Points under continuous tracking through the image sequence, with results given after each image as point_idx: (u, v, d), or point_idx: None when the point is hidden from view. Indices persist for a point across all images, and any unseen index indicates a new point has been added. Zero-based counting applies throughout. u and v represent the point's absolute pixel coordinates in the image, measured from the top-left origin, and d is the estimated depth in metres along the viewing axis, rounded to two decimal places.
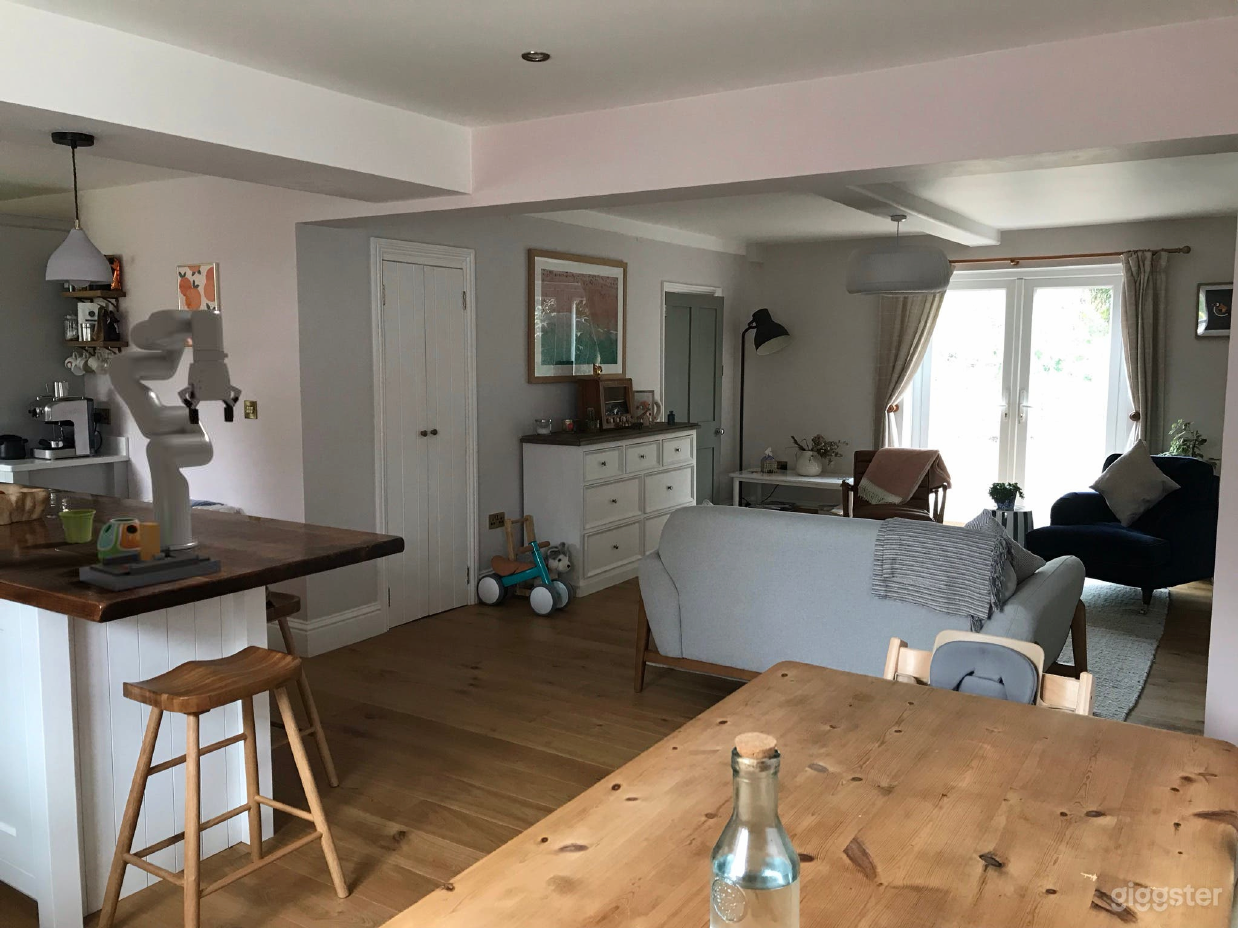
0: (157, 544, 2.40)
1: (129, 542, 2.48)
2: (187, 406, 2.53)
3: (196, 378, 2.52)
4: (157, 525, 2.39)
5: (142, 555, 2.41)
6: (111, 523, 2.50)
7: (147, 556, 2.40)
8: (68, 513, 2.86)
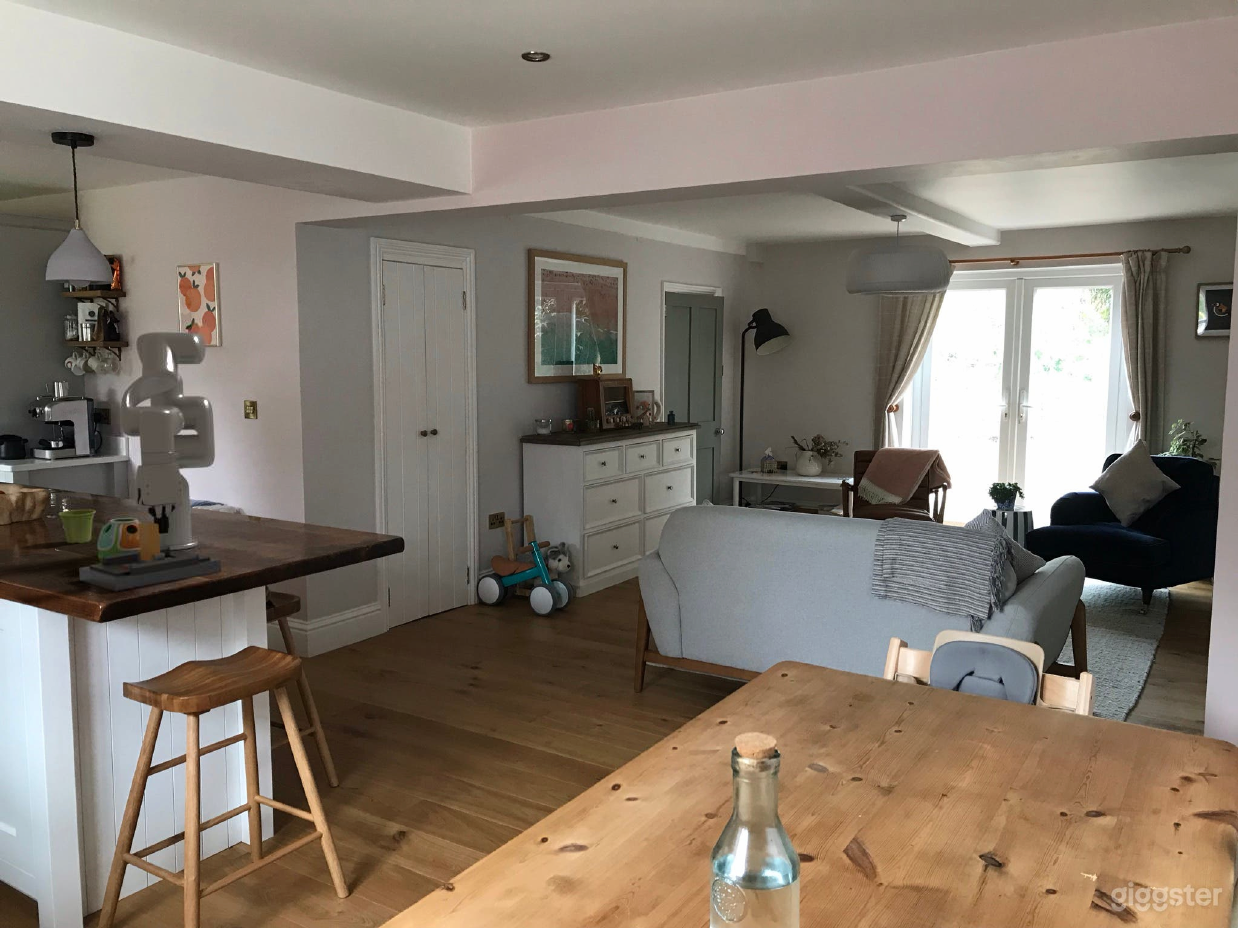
0: (157, 544, 2.40)
1: (129, 542, 2.48)
2: (152, 515, 2.41)
3: (144, 483, 2.37)
4: (156, 525, 2.39)
5: (142, 555, 2.41)
6: (111, 523, 2.50)
7: (147, 556, 2.40)
8: (68, 513, 2.86)
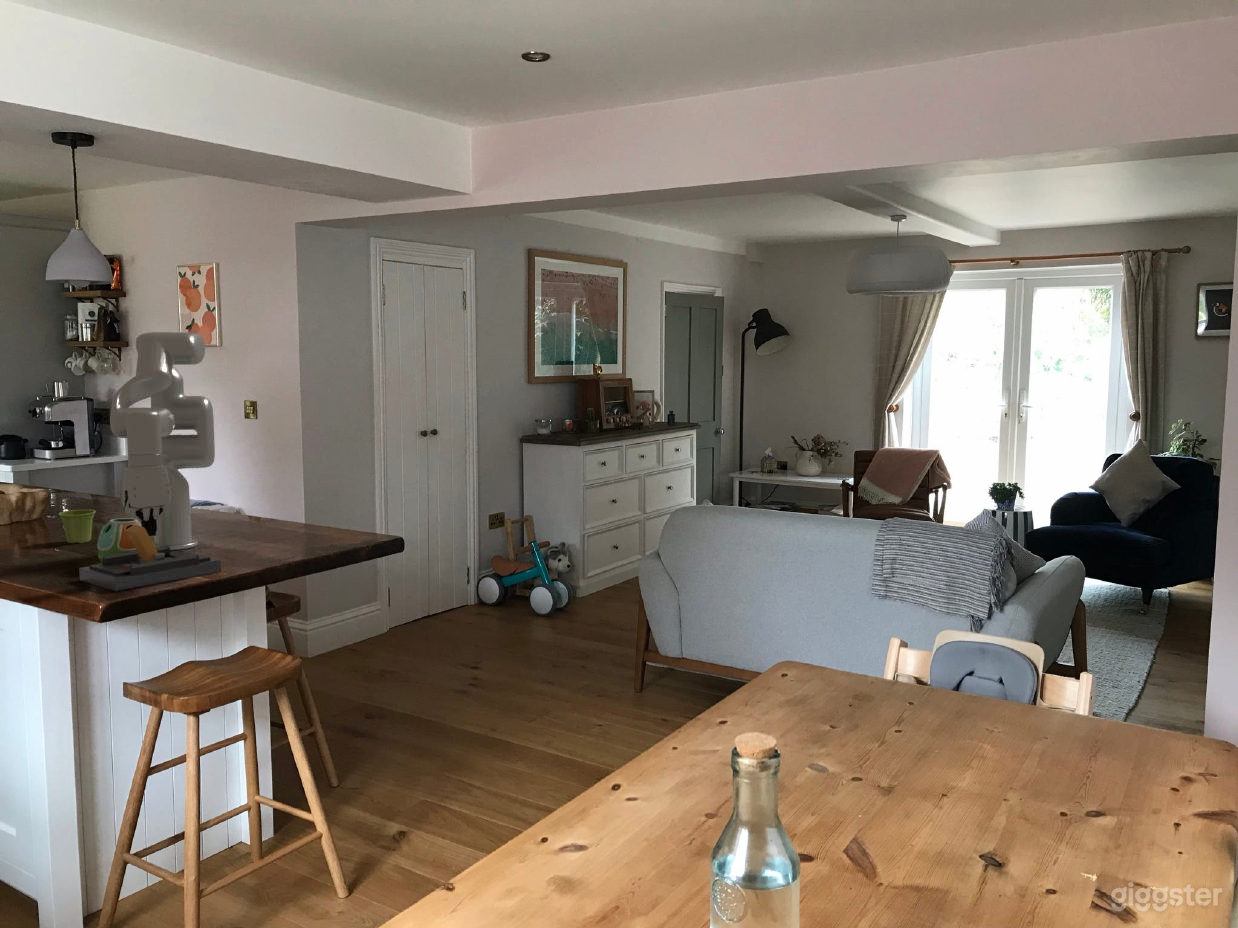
0: (151, 545, 2.39)
1: (129, 542, 2.48)
2: (139, 517, 2.38)
3: (131, 485, 2.34)
4: (143, 529, 2.37)
5: (142, 557, 2.41)
6: (111, 523, 2.50)
7: (146, 558, 2.40)
8: (68, 513, 2.86)
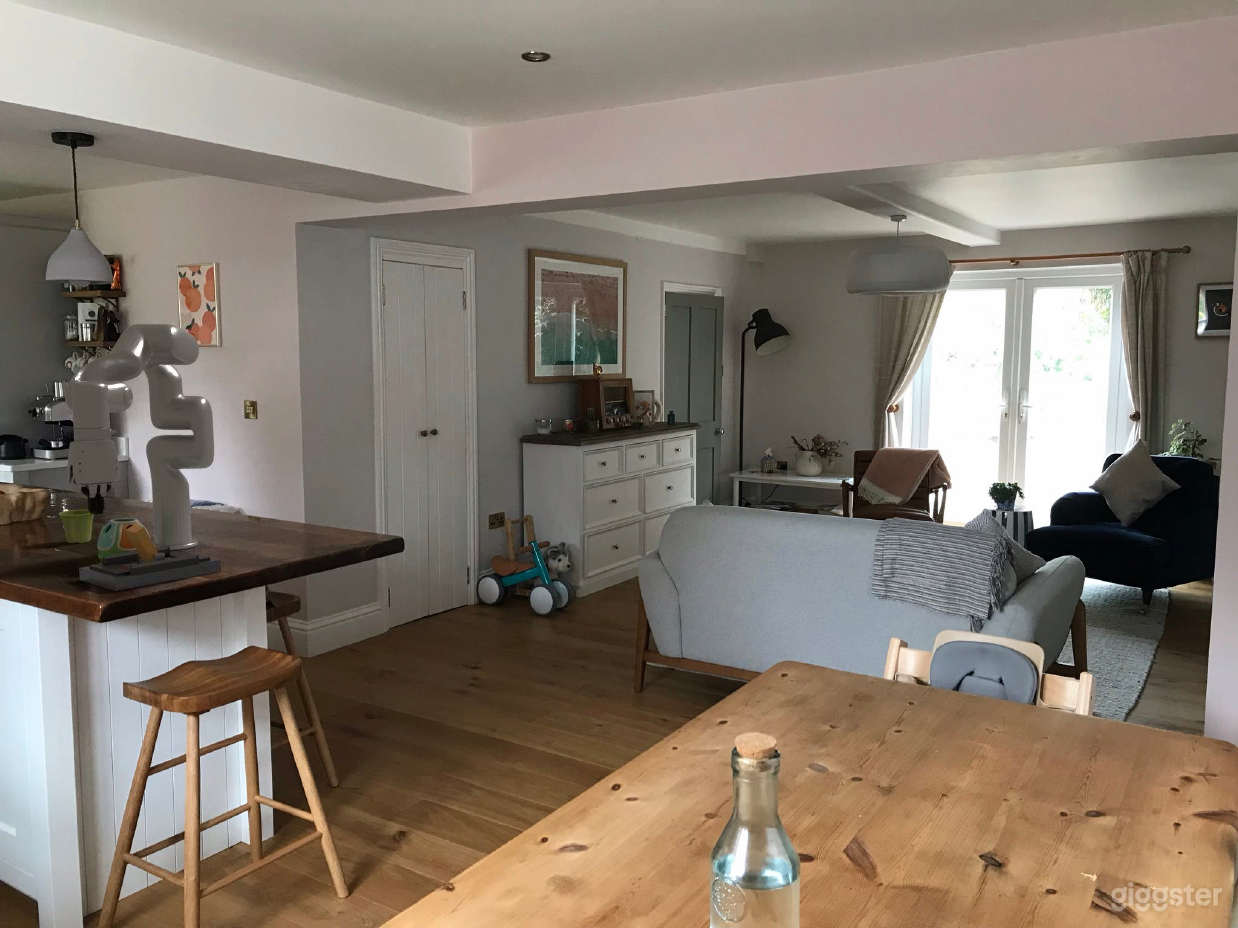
0: (151, 545, 2.39)
1: (129, 542, 2.48)
2: (85, 494, 2.28)
3: (76, 460, 2.24)
4: (143, 529, 2.37)
5: (142, 557, 2.41)
6: (111, 523, 2.50)
7: (146, 558, 2.40)
8: (68, 513, 2.86)
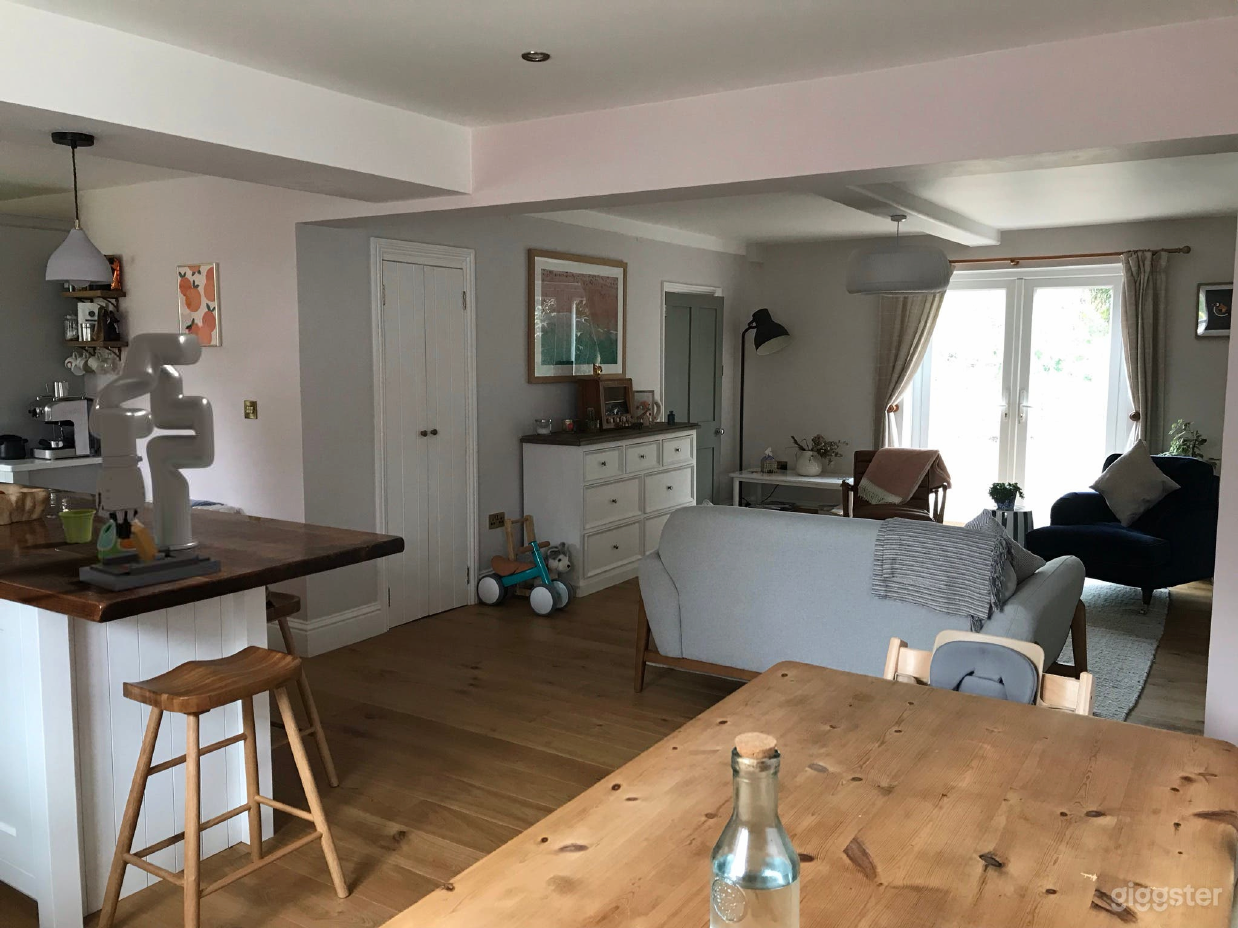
0: (152, 545, 2.39)
1: (129, 542, 2.48)
2: (113, 520, 2.34)
3: (104, 487, 2.29)
4: (144, 528, 2.37)
5: (142, 557, 2.41)
6: (111, 523, 2.50)
7: (146, 558, 2.40)
8: (68, 513, 2.86)
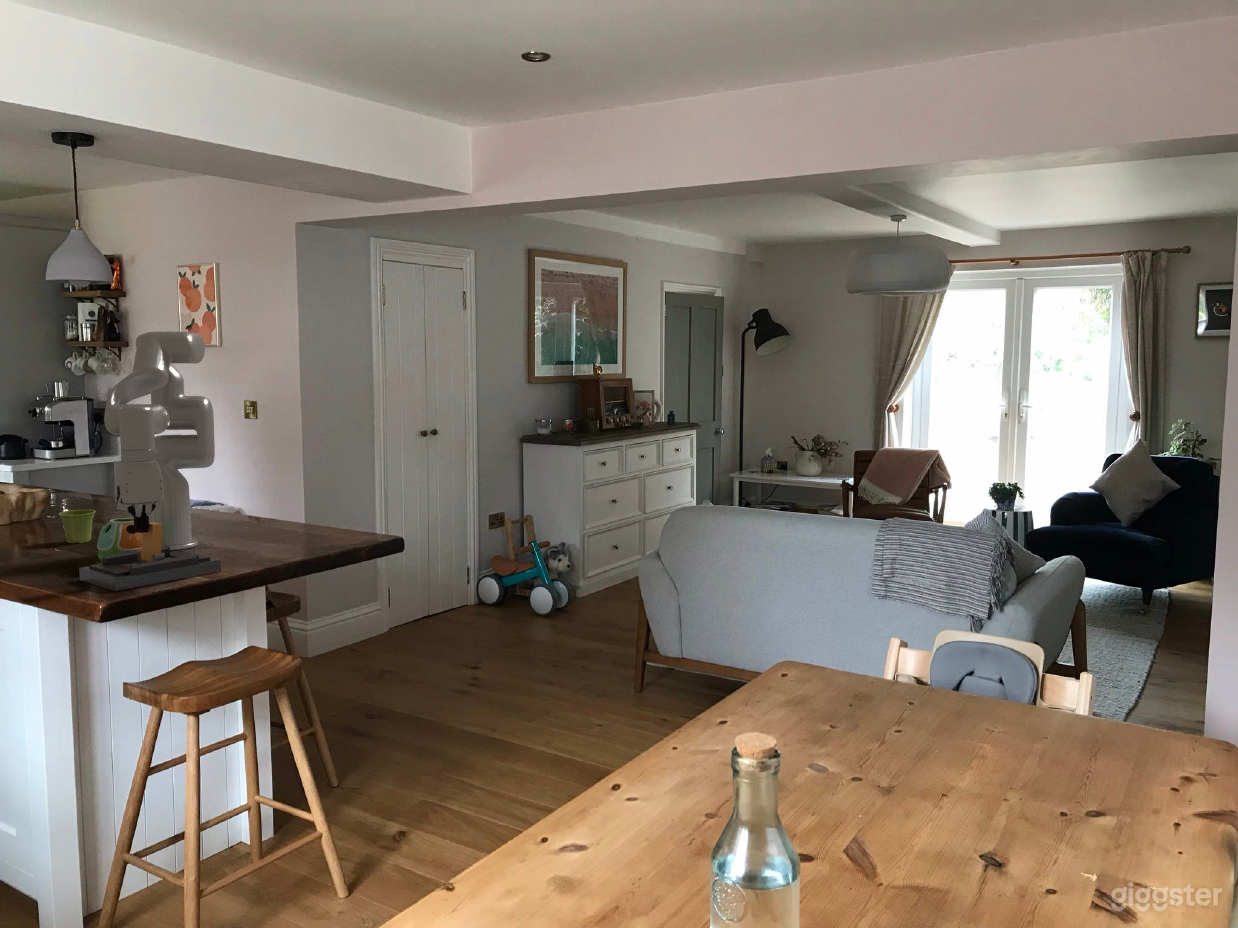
0: (159, 544, 2.40)
1: (129, 542, 2.48)
2: (132, 514, 2.37)
3: (123, 480, 2.33)
4: (161, 525, 2.40)
5: (142, 554, 2.41)
6: (111, 523, 2.50)
7: (147, 556, 2.40)
8: (68, 513, 2.86)
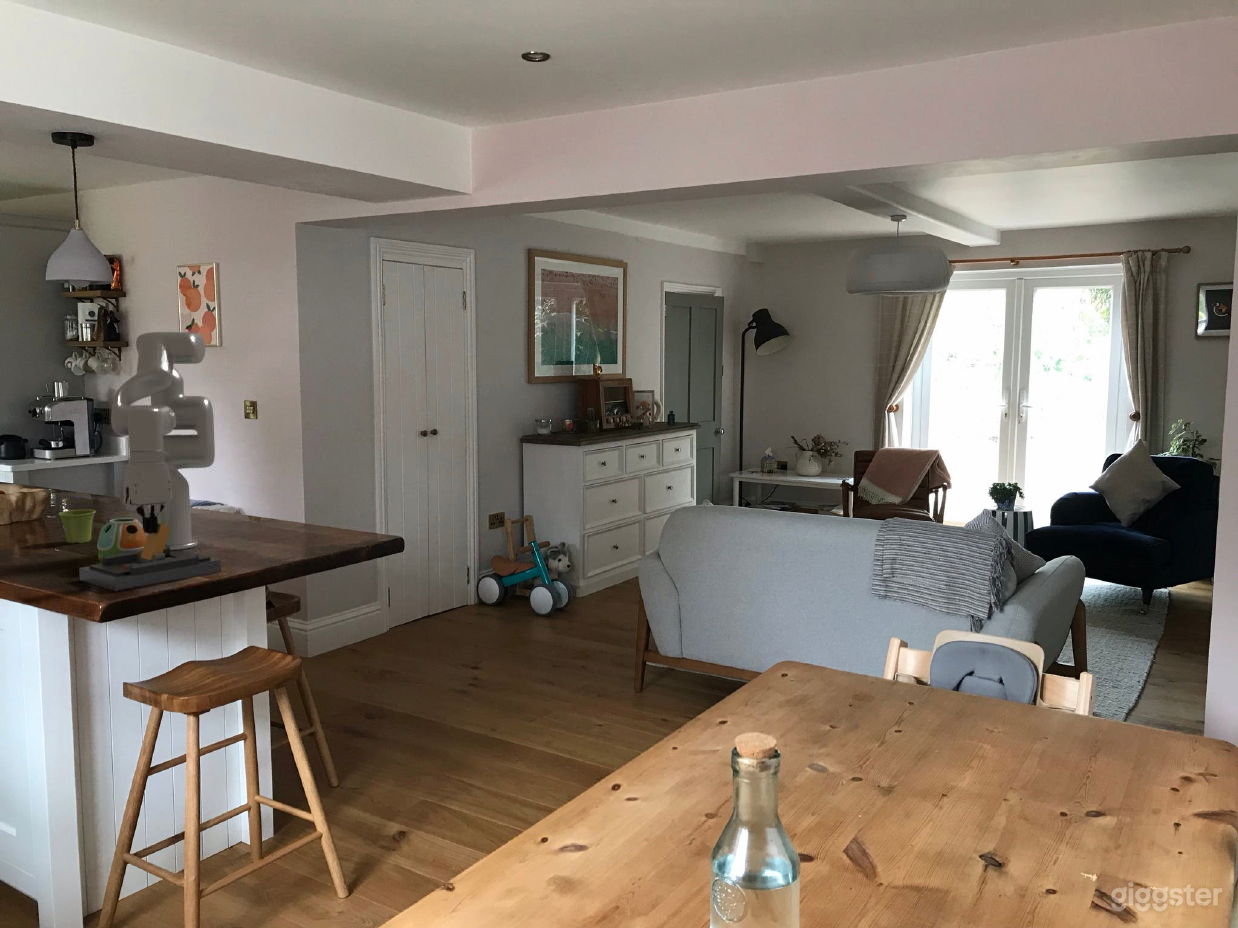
0: (162, 545, 2.41)
1: (129, 542, 2.48)
2: (140, 514, 2.38)
3: (132, 482, 2.34)
4: (168, 527, 2.42)
5: (143, 553, 2.41)
6: (111, 523, 2.50)
7: (148, 554, 2.40)
8: (68, 513, 2.86)
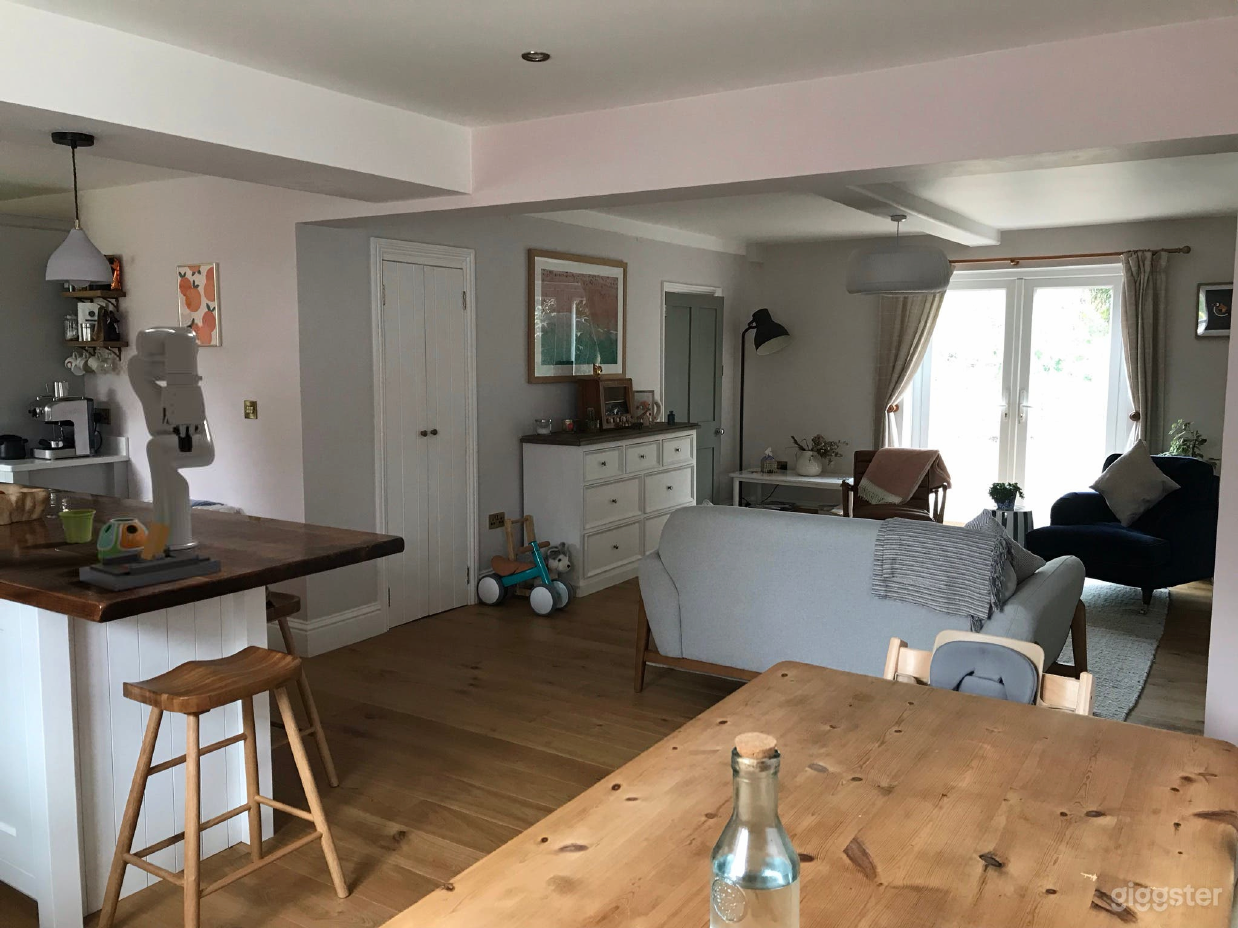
0: (162, 545, 2.41)
1: (129, 542, 2.48)
2: (176, 434, 2.52)
3: (169, 402, 2.47)
4: (168, 527, 2.42)
5: (143, 553, 2.41)
6: (111, 523, 2.50)
7: (148, 554, 2.40)
8: (68, 513, 2.86)
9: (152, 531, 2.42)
